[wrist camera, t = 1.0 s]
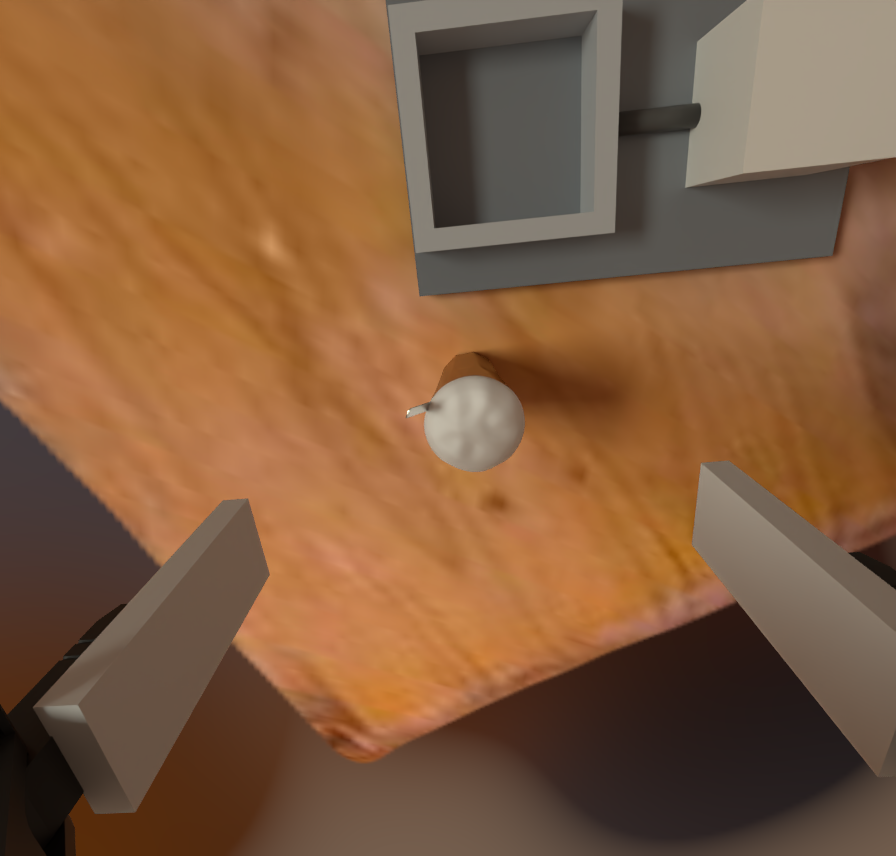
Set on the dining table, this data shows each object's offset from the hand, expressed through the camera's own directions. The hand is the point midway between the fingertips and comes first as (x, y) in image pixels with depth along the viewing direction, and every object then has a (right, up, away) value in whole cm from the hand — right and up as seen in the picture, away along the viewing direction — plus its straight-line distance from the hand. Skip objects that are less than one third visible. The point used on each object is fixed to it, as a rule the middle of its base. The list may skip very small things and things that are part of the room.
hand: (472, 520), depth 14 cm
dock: (+8, +18, +10) cm, 22 cm away
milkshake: (0, +6, +15) cm, 16 cm away
